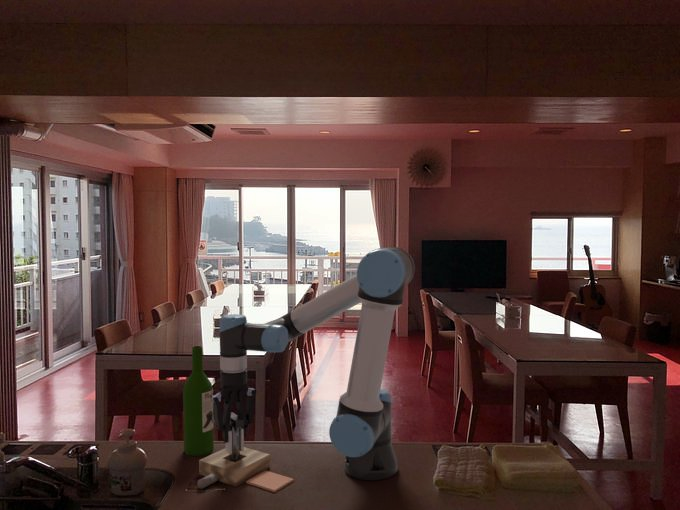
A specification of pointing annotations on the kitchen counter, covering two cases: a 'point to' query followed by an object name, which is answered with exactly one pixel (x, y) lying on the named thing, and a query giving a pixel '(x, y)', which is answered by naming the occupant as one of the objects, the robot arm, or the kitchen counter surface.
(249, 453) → the jig
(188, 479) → the kitchen counter surface
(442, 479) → the kitchen counter surface
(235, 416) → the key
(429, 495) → the kitchen counter surface
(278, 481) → the mat
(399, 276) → the robot arm
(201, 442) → the wine bottle
